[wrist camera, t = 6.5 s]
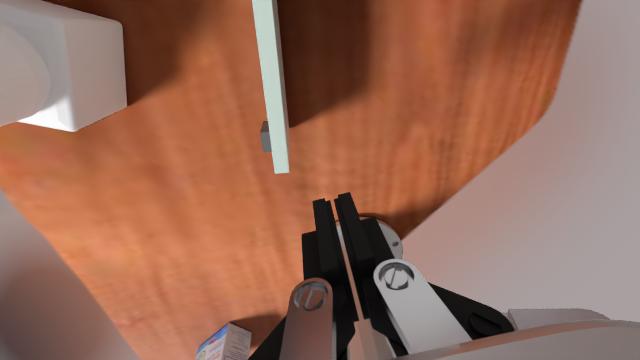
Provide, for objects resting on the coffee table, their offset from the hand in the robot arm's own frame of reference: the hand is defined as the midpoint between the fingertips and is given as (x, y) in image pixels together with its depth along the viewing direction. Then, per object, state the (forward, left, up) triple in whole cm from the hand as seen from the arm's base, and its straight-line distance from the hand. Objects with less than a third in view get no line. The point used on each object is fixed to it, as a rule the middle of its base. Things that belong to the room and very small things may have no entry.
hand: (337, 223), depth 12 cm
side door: (+5, +4, -17) cm, 18 cm away
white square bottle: (+4, +20, -17) cm, 27 cm away
